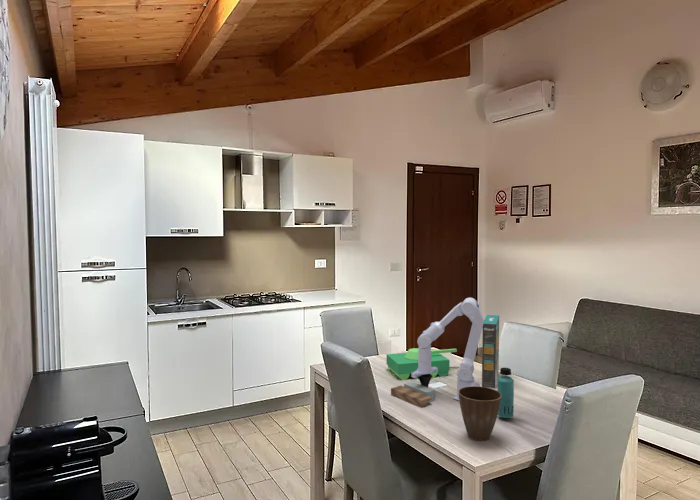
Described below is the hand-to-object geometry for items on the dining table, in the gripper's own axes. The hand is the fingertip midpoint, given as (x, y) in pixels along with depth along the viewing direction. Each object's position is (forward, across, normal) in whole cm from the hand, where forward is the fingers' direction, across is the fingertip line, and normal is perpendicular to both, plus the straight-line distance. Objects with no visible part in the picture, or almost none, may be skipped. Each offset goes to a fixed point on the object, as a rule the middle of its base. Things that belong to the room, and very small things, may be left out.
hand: (424, 390), depth 221 cm
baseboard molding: (+3, -48, -32) cm, 57 cm away
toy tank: (+2, -23, -23) cm, 33 cm away
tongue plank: (+2, +4, 0) cm, 4 cm away
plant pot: (+2, +15, +42) cm, 45 cm away
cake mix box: (+2, -40, +6) cm, 40 cm away
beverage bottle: (+2, -6, +38) cm, 39 cm away
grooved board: (+2, +9, 0) cm, 9 cm away
